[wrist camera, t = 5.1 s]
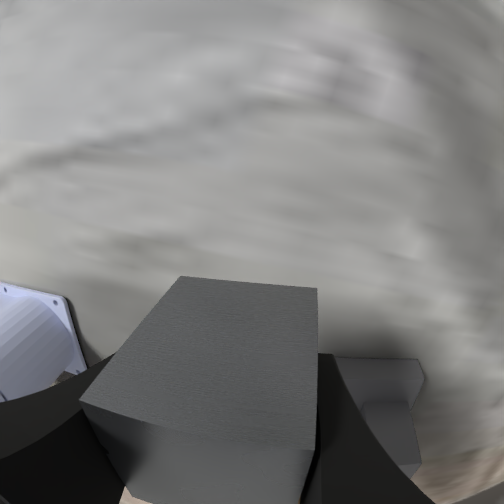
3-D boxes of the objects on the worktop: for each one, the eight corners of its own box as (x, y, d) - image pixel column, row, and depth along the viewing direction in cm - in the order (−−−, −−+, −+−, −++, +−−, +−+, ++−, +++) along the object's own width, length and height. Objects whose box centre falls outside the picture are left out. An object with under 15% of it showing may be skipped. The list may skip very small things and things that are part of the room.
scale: (179, 458, 27) (156, 513, 20) (149, 334, 21) (99, 403, 14) (361, 479, 24) (362, 538, 17) (418, 359, 18) (445, 441, 12)
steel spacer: (191, 375, 12) (132, 496, 7) (180, 275, 11) (78, 399, 5) (303, 389, 12) (288, 530, 6) (317, 288, 10) (314, 449, 4)
